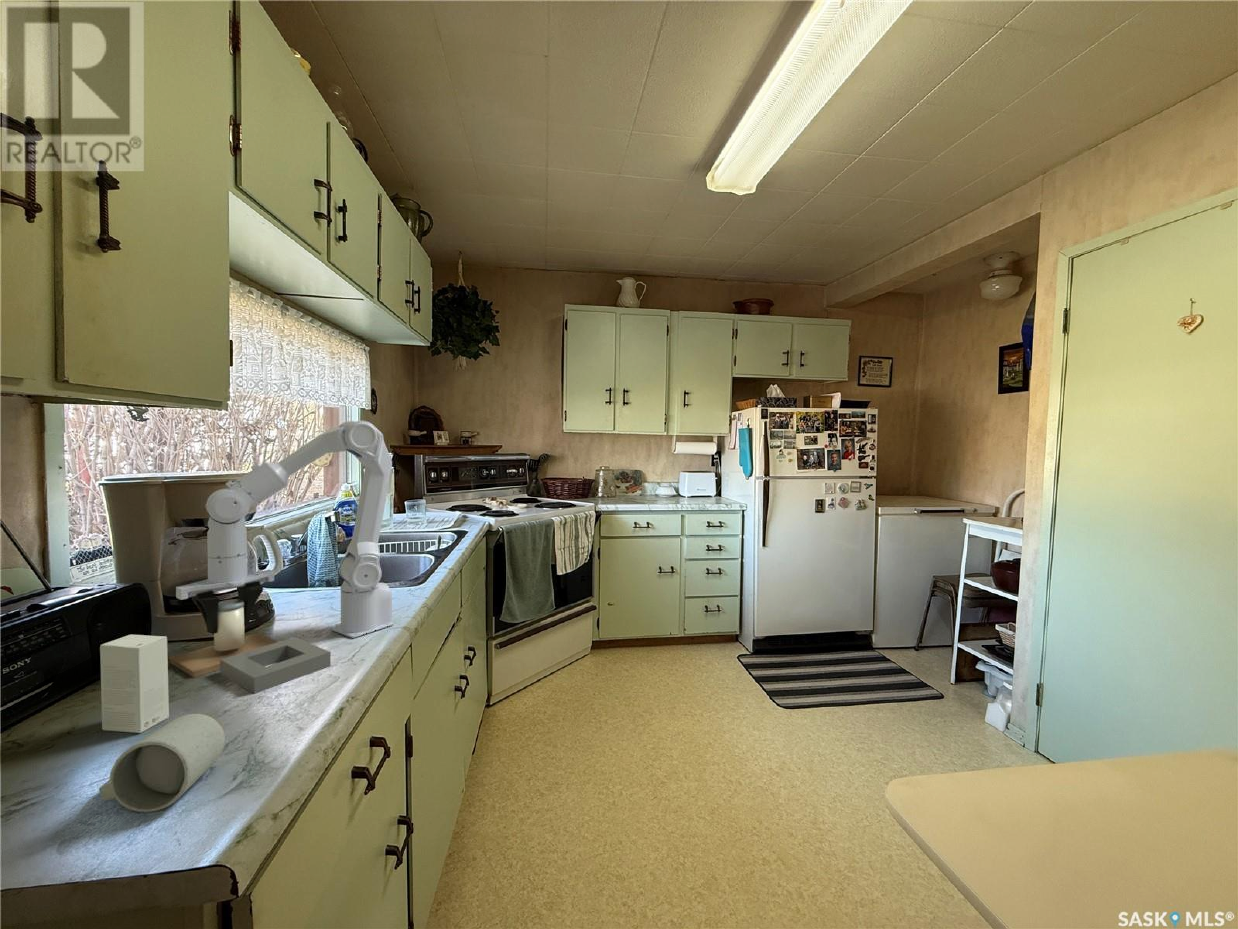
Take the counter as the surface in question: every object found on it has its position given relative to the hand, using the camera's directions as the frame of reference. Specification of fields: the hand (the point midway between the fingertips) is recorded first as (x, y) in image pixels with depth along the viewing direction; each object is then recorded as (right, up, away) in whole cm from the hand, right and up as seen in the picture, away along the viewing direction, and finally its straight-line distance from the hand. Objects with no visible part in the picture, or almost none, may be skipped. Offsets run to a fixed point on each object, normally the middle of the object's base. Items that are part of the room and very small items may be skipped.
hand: (228, 628), depth 93 cm
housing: (+12, -6, -5) cm, 14 cm away
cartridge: (0, -3, 0) cm, 3 cm away
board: (0, -5, 0) cm, 5 cm away
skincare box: (+4, -7, -22) cm, 23 cm away
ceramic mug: (+19, -8, -35) cm, 40 cm away
